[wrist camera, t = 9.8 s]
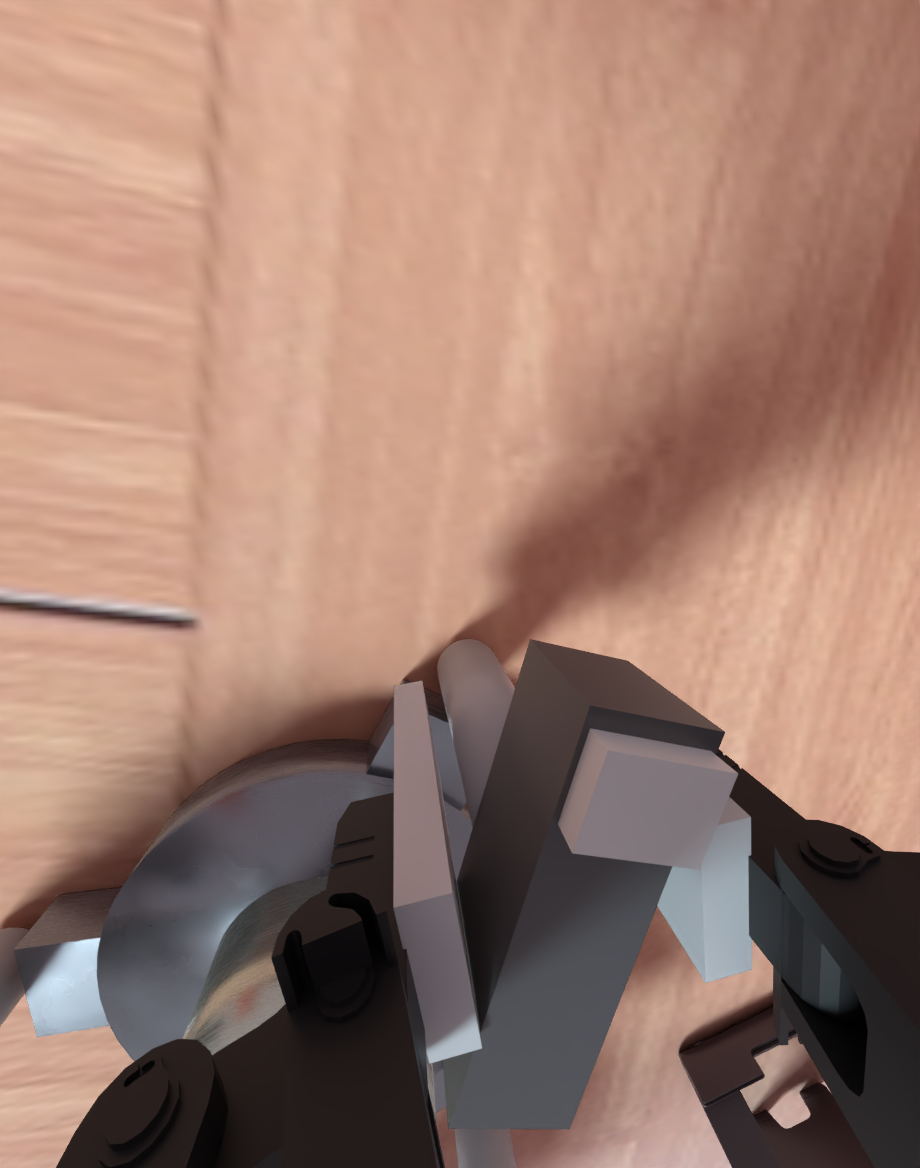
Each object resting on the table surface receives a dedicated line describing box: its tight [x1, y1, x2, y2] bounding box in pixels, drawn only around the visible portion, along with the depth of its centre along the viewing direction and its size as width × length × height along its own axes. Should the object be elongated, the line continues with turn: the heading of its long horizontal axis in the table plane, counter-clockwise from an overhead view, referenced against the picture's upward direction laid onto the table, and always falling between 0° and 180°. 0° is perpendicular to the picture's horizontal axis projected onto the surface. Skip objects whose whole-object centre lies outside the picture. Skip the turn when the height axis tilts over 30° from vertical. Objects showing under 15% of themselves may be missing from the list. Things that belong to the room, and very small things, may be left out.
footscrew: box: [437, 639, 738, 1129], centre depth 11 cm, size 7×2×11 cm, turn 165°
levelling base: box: [14, 679, 473, 1121], centre depth 14 cm, size 18×16×8 cm
